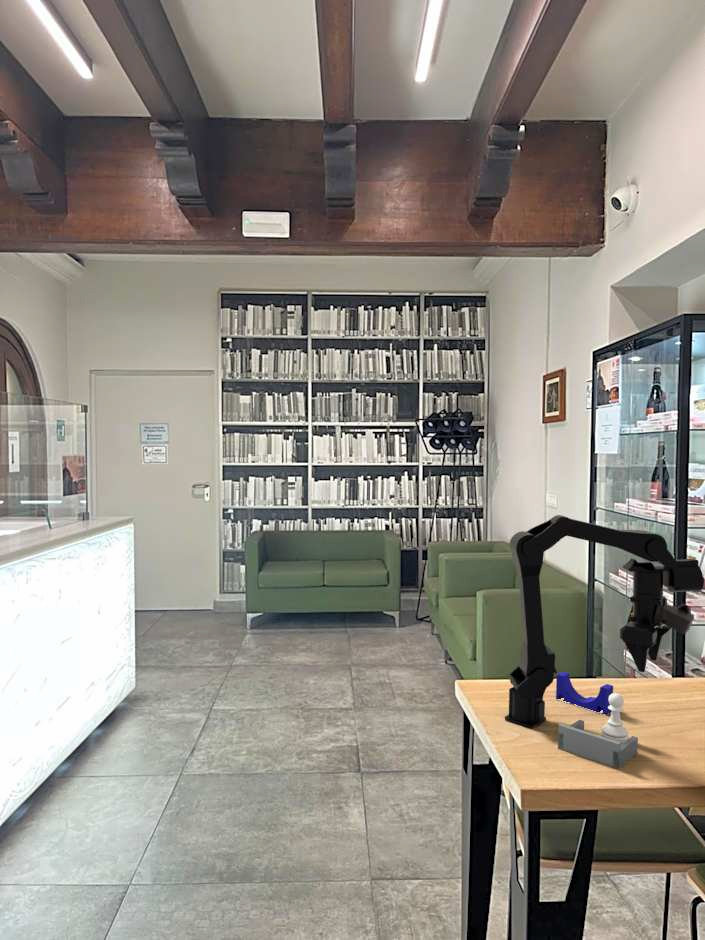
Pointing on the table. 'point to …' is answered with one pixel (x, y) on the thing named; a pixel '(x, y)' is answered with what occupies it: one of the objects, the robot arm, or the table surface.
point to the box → (595, 745)
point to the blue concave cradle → (572, 696)
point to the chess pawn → (615, 720)
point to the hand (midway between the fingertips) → (647, 665)
